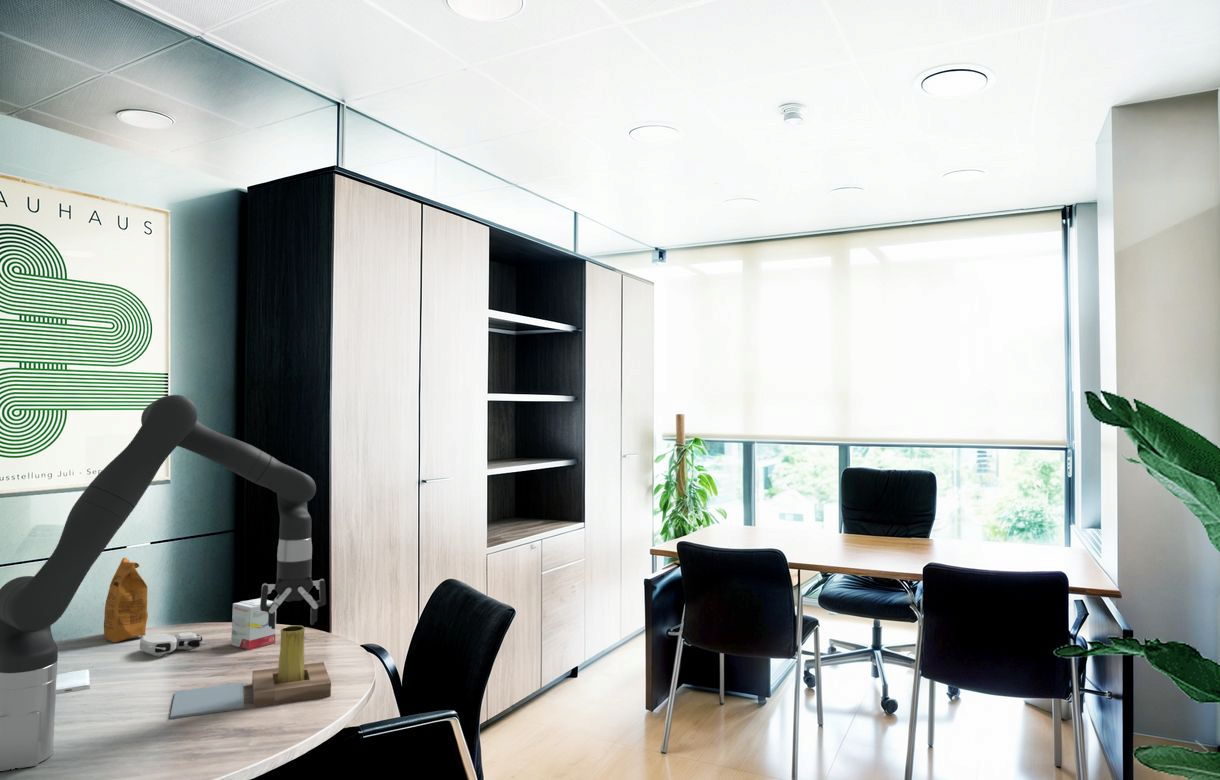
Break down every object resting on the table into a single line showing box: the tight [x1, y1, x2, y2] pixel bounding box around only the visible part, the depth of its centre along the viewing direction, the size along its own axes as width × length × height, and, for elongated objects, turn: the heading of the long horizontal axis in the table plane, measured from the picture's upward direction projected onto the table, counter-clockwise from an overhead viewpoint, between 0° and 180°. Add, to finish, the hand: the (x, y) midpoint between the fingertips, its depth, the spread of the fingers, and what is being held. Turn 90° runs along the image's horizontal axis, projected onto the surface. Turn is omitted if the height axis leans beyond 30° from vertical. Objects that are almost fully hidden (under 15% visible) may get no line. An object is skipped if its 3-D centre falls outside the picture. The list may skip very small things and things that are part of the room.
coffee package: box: [103, 557, 149, 643], centre depth 214 cm, size 10×12×22 cm
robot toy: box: [137, 631, 208, 657], centre depth 202 cm, size 12×4×15 cm
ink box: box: [230, 597, 277, 651], centre depth 210 cm, size 9×9×12 cm
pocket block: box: [251, 661, 332, 708], centre depth 175 cm, size 16×16×3 cm
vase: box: [277, 625, 306, 684], centre depth 175 cm, size 6×6×14 cm
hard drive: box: [56, 669, 91, 695], centre depth 176 cm, size 2×8×12 cm
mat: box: [169, 682, 245, 720], centre depth 167 cm, size 16×14×1 cm
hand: (292, 626), depth 176 cm, fingers open, 8 cm apart
